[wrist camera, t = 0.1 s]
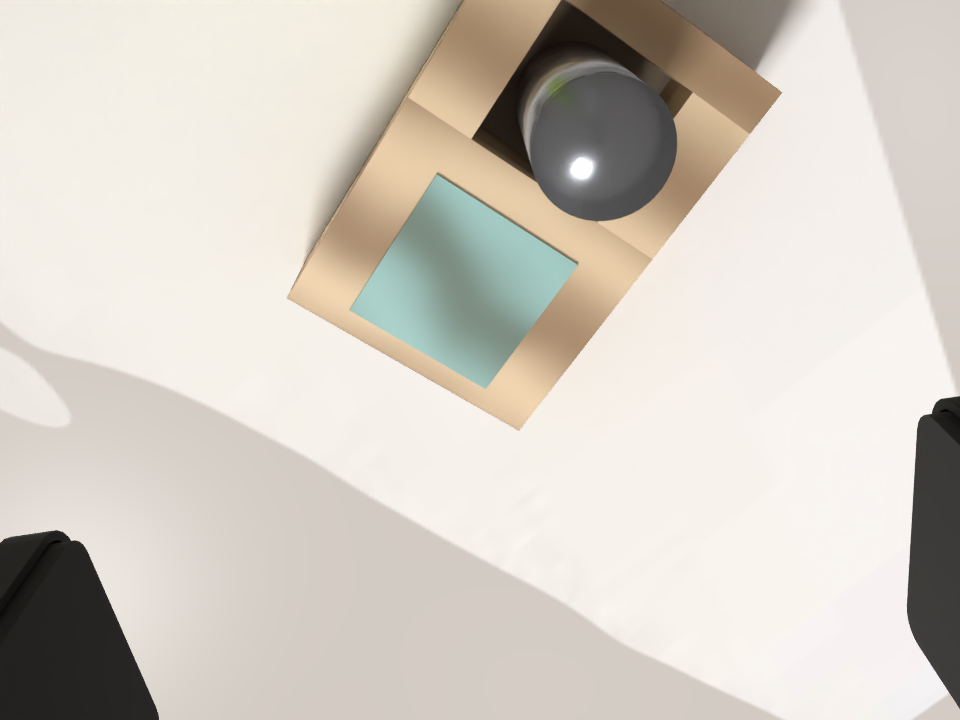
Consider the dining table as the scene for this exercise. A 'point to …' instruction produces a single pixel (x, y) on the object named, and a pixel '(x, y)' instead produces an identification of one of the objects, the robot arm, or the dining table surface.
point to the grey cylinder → (593, 132)
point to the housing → (513, 202)
